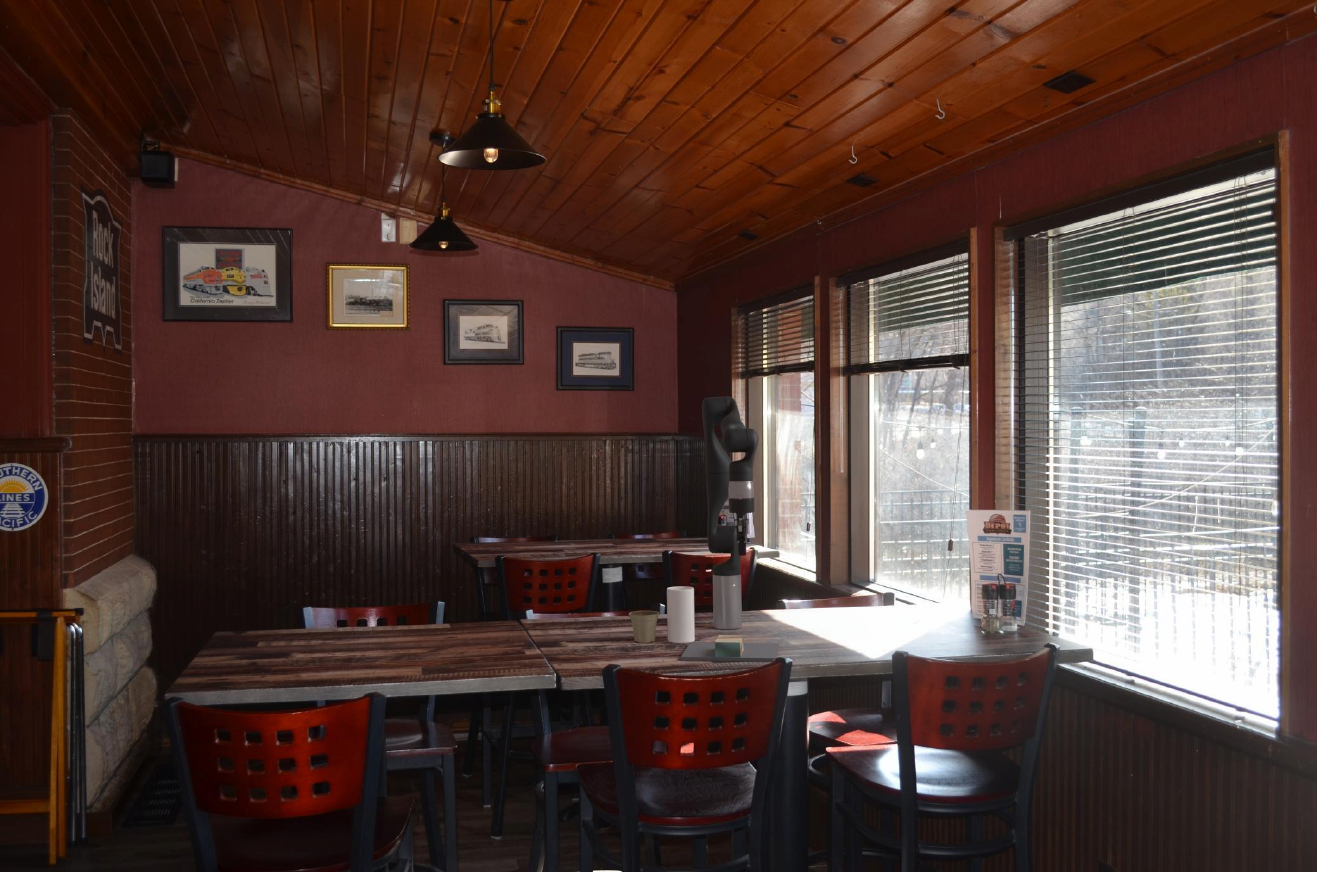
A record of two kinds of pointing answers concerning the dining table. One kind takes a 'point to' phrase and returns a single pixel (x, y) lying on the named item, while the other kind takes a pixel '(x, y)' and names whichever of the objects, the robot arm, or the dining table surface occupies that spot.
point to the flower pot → (644, 625)
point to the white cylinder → (680, 614)
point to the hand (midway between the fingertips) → (742, 555)
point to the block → (729, 646)
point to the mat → (749, 654)
